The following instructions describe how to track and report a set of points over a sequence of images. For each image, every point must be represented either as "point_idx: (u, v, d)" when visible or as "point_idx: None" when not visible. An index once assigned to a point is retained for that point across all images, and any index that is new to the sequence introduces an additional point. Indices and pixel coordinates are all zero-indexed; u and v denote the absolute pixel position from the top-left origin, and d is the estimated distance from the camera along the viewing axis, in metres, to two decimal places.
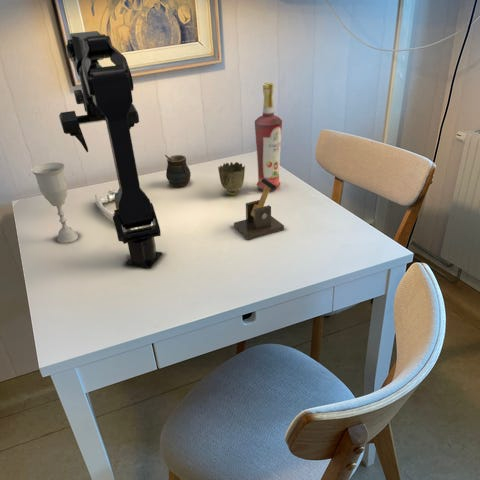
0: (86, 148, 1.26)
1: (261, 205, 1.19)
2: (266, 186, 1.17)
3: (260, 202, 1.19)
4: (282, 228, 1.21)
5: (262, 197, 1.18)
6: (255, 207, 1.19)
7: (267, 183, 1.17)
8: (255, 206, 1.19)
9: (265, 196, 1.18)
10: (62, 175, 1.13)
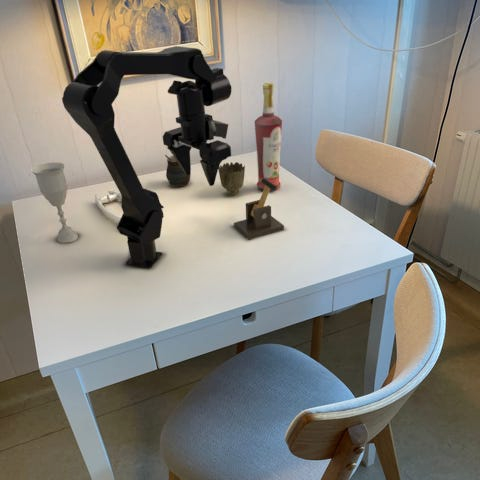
0: (183, 170, 1.18)
1: (261, 205, 1.19)
2: (266, 186, 1.17)
3: (260, 202, 1.19)
4: (282, 228, 1.21)
5: (262, 197, 1.18)
6: (255, 207, 1.19)
7: (267, 183, 1.17)
8: (255, 206, 1.19)
9: (265, 196, 1.18)
10: (62, 175, 1.13)
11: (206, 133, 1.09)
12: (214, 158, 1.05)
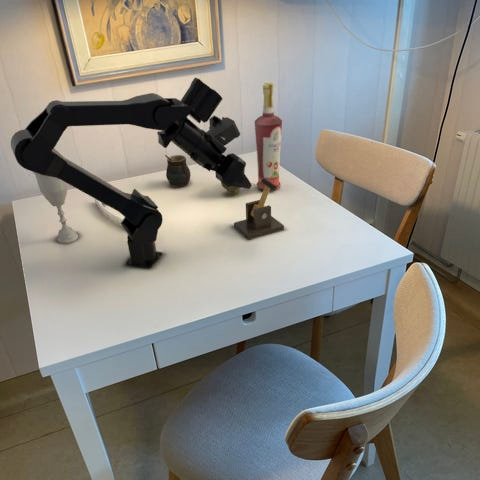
0: None
1: (261, 205, 1.19)
2: (266, 186, 1.17)
3: (260, 202, 1.19)
4: (282, 228, 1.21)
5: (262, 197, 1.18)
6: (255, 207, 1.19)
7: (267, 183, 1.17)
8: (255, 206, 1.19)
9: (265, 196, 1.18)
10: None
11: (216, 149, 1.04)
12: (230, 182, 1.02)
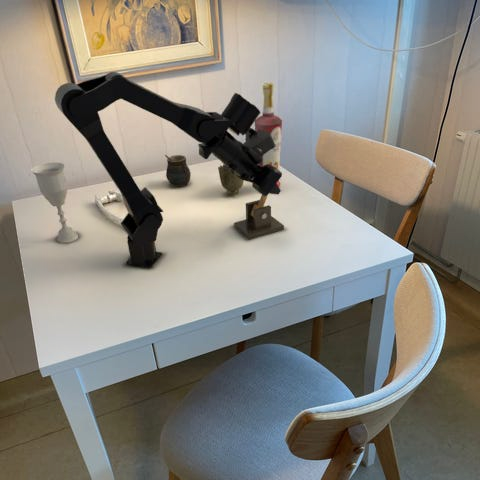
0: None
1: (261, 205, 1.19)
2: None
3: (260, 202, 1.19)
4: (282, 228, 1.21)
5: (262, 197, 1.18)
6: (255, 207, 1.19)
7: None
8: (255, 206, 1.19)
9: (265, 196, 1.18)
10: (62, 175, 1.13)
11: (253, 160, 1.09)
12: (266, 191, 1.07)
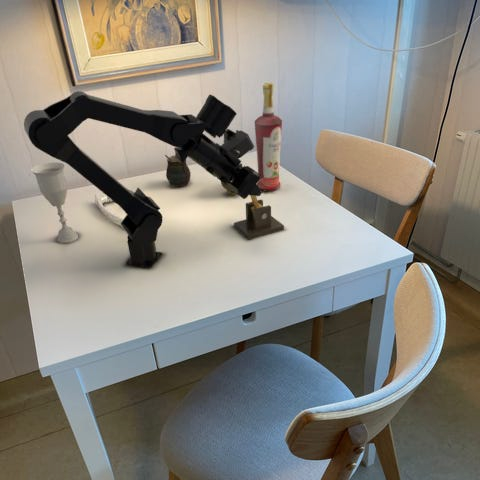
0: None
1: (256, 206, 1.19)
2: None
3: (254, 204, 1.19)
4: (282, 228, 1.21)
5: (253, 200, 1.18)
6: None
7: None
8: (252, 210, 1.20)
9: (254, 198, 1.17)
10: (62, 175, 1.13)
11: (231, 162, 1.07)
12: (245, 194, 1.05)
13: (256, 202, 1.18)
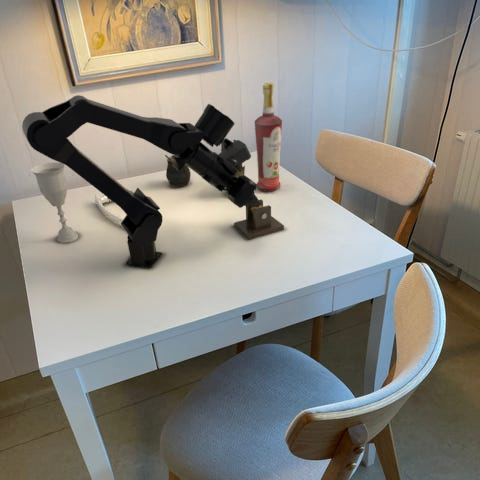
0: None
1: (256, 207, 1.19)
2: None
3: None
4: (282, 228, 1.21)
5: None
6: None
7: None
8: (252, 211, 1.20)
9: None
10: (62, 175, 1.13)
11: (228, 171, 1.08)
12: (241, 203, 1.06)
13: None
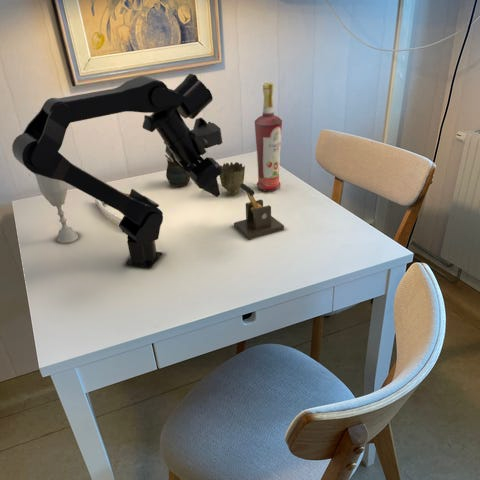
0: None
1: (256, 207, 1.19)
2: (246, 192, 1.16)
3: (253, 205, 1.19)
4: (282, 228, 1.21)
5: (251, 201, 1.18)
6: None
7: (245, 190, 1.15)
8: (252, 211, 1.20)
9: (252, 199, 1.17)
10: None
11: (196, 150, 1.05)
12: (203, 183, 1.02)
13: (255, 203, 1.18)
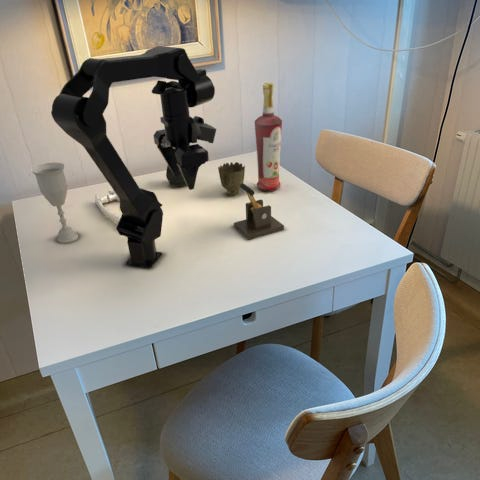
0: None
1: (256, 207, 1.19)
2: (246, 192, 1.16)
3: (253, 205, 1.19)
4: (282, 228, 1.21)
5: (251, 201, 1.18)
6: None
7: (245, 190, 1.15)
8: (252, 211, 1.20)
9: (252, 199, 1.17)
10: (62, 175, 1.13)
11: (189, 136, 1.07)
12: (187, 161, 1.03)
13: (255, 203, 1.18)
